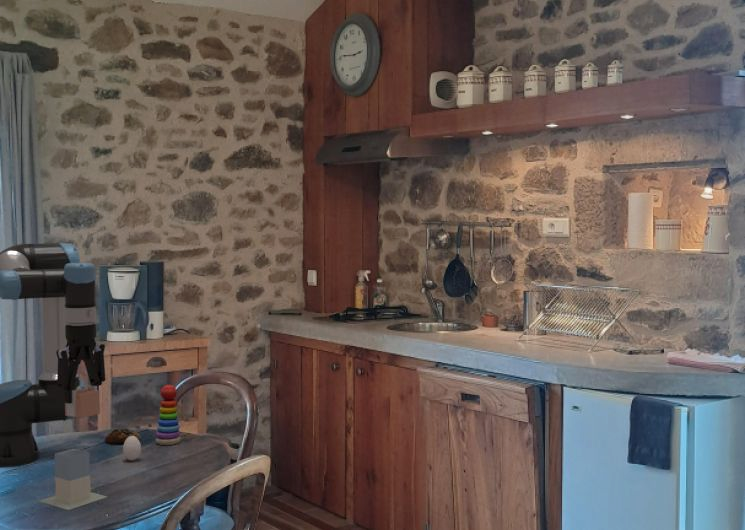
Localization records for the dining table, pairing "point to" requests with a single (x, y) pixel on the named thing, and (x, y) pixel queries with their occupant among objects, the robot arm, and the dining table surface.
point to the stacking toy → (168, 418)
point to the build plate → (67, 506)
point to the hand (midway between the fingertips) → (82, 412)
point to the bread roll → (120, 436)
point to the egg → (132, 448)
